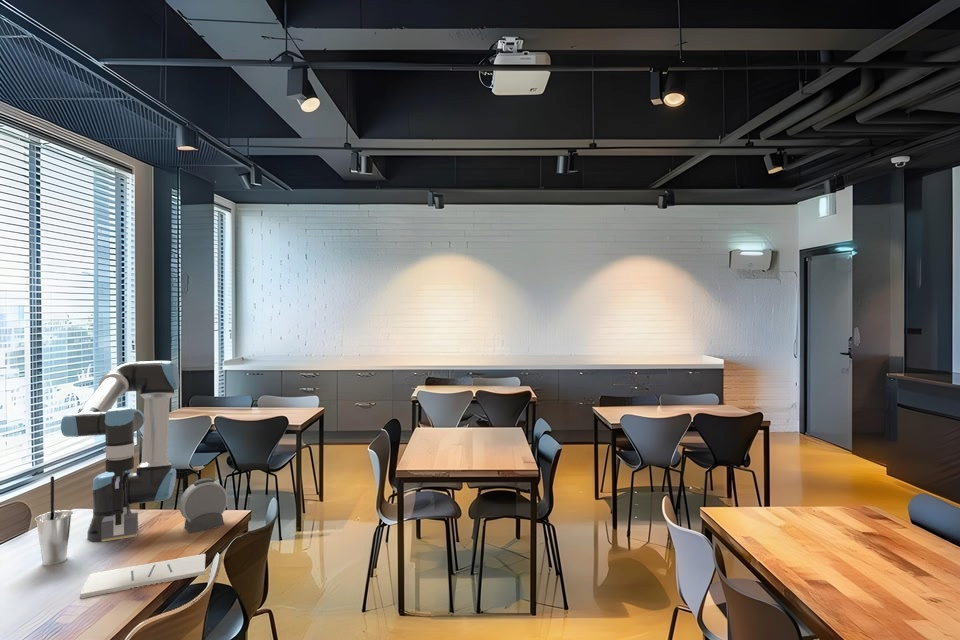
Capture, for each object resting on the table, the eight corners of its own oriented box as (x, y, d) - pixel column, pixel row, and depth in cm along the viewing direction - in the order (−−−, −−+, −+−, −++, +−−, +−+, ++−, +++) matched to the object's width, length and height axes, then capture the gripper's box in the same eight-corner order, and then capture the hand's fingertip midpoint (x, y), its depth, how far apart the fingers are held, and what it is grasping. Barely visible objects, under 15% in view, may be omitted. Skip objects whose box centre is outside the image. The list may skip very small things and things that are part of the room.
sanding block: (104, 536, 171) (104, 517, 171) (137, 531, 175) (137, 512, 175) (101, 541, 166) (101, 522, 167) (135, 536, 170) (135, 517, 171)
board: (90, 577, 169) (90, 573, 169) (205, 557, 182) (205, 553, 182) (80, 598, 156) (80, 594, 156) (204, 574, 170) (204, 570, 170)
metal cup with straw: (53, 570, 174) (52, 477, 173) (24, 567, 176) (23, 475, 176) (84, 556, 184) (83, 467, 184) (56, 553, 186) (55, 466, 186)
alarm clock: (222, 517, 219) (221, 472, 219) (230, 524, 212) (230, 477, 212) (177, 528, 208) (177, 480, 208) (184, 535, 201) (184, 486, 201)
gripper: (110, 453, 177) (110, 524, 177) (100, 465, 161) (100, 543, 161) (137, 450, 181) (137, 520, 180) (130, 462, 165) (130, 539, 164)
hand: (120, 531), depth 171 cm, fingers closed on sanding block, 5 cm apart
